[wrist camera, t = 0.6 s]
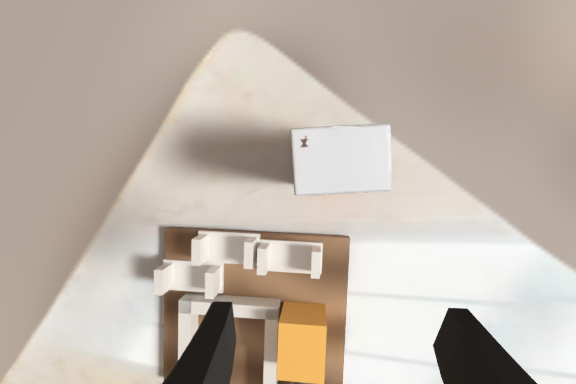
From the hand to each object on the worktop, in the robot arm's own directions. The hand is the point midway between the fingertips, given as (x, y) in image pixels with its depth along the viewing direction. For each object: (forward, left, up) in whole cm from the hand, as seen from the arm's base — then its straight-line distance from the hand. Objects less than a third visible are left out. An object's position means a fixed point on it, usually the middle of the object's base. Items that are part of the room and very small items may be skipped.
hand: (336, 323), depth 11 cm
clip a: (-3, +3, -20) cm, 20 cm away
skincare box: (+6, -1, -21) cm, 22 cm away
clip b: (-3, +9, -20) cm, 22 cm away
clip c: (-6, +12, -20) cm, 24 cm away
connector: (-12, +1, -20) cm, 23 cm away
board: (-9, +6, -21) cm, 24 cm away
